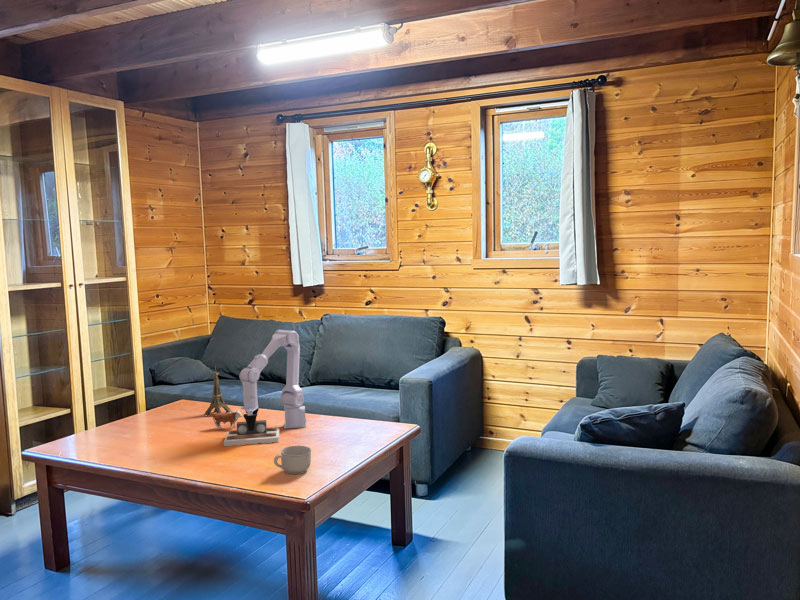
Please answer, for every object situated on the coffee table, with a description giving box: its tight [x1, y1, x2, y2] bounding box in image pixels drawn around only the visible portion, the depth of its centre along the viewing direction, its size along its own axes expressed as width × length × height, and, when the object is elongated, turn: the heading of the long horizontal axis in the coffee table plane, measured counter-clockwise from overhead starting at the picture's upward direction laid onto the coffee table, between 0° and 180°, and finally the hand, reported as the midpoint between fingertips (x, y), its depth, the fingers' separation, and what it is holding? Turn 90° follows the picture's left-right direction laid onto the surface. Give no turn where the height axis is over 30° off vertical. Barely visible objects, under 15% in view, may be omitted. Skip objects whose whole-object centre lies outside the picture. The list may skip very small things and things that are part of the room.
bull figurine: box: [212, 409, 243, 430], centre depth 284 cm, size 4×13×8 cm, turn 89°
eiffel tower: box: [203, 364, 233, 417], centre depth 309 cm, size 11×11×25 cm
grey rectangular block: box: [236, 419, 268, 435], centre depth 265 cm, size 12×3×6 cm, turn 100°
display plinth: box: [223, 426, 280, 447], centre depth 265 cm, size 22×14×3 cm, turn 99°
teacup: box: [273, 445, 312, 475], centre depth 224 cm, size 14×11×8 cm
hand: (252, 428), depth 265 cm, fingers open, 7 cm apart
